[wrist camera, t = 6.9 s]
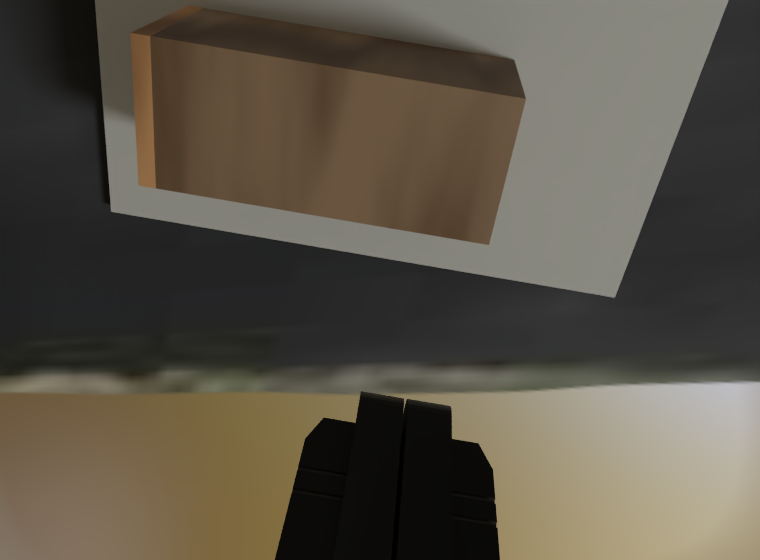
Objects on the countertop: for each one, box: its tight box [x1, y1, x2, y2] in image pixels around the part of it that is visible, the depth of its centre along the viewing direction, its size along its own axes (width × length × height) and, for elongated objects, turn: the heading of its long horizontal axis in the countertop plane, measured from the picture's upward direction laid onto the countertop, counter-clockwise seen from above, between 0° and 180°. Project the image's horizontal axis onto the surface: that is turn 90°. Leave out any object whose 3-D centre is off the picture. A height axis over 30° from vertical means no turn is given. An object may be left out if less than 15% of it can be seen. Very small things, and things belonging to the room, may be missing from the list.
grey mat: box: [95, 0, 728, 298], centre depth 26 cm, size 22×13×1 cm, turn 82°
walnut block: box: [130, 5, 526, 245], centre depth 24 cm, size 5×5×12 cm
